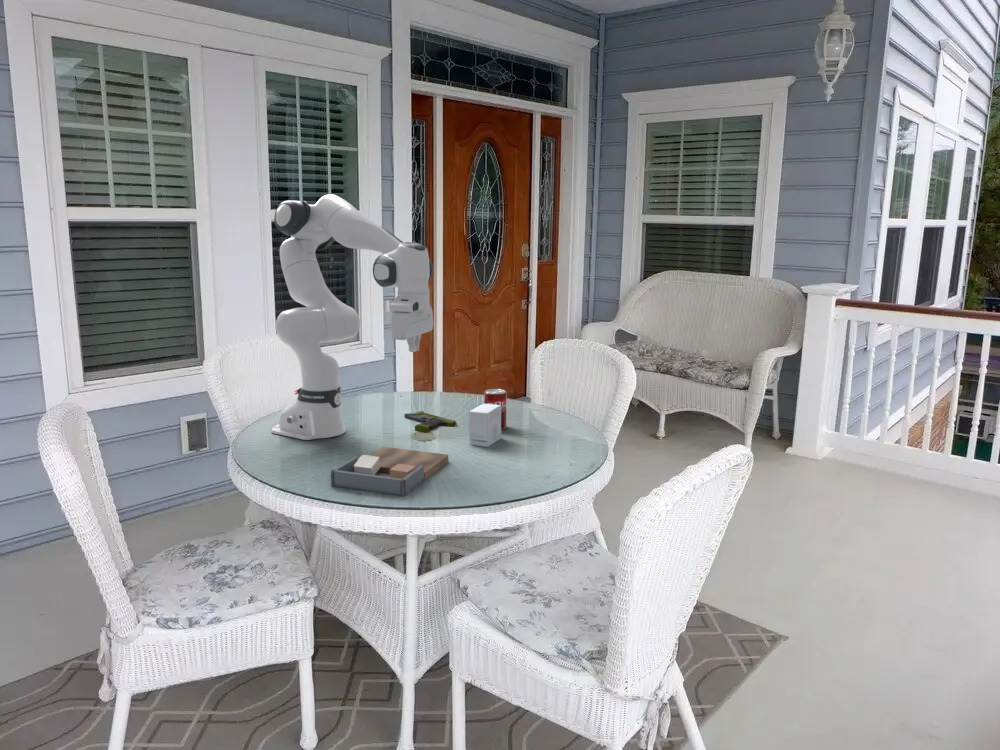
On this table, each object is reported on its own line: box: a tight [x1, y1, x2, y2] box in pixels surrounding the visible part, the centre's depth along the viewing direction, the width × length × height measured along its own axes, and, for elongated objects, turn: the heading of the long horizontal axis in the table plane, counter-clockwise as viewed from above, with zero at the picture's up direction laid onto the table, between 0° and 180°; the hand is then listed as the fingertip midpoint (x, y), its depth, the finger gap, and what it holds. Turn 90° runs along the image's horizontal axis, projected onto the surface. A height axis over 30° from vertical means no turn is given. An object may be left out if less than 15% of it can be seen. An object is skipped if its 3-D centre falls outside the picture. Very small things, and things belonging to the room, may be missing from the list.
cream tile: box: [354, 454, 381, 475], centre depth 201 cm, size 5×5×3 cm
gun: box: [404, 410, 458, 433], centre depth 253 cm, size 2×19×15 cm
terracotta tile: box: [390, 464, 416, 479], centre depth 199 cm, size 5×5×3 cm
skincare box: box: [468, 403, 502, 448], centre depth 233 cm, size 10×6×10 cm, turn 157°
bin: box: [330, 456, 425, 497], centre depth 196 cm, size 20×12×4 cm, turn 72°
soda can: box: [483, 388, 508, 431], centre depth 248 cm, size 7×7×12 cm
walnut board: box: [368, 446, 449, 481], centre depth 210 cm, size 20×16×2 cm
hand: (413, 351), depth 218 cm, fingers closed
